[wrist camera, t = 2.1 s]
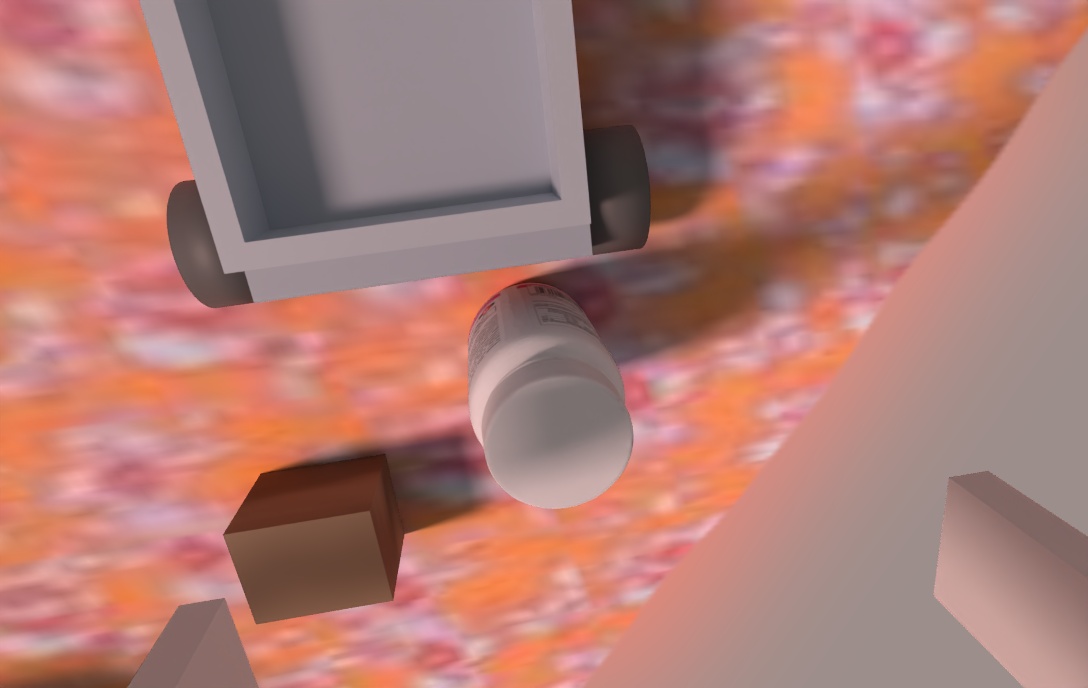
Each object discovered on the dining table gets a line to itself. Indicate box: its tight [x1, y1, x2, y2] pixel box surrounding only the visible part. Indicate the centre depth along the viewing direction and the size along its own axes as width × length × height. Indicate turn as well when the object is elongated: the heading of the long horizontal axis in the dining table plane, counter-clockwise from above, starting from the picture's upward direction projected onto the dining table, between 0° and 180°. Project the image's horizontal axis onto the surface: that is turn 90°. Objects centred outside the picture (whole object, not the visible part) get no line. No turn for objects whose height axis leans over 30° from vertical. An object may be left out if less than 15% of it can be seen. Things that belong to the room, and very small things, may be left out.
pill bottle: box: [468, 283, 633, 509], centre depth 20 cm, size 5×5×8 cm
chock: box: [223, 454, 404, 624], centre depth 23 cm, size 4×5×4 cm
